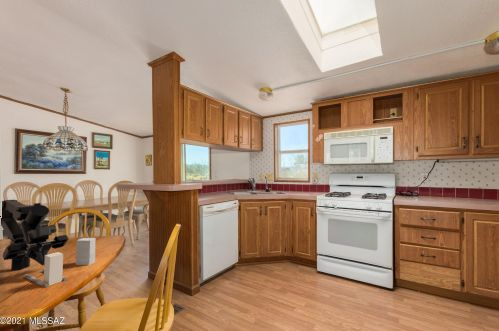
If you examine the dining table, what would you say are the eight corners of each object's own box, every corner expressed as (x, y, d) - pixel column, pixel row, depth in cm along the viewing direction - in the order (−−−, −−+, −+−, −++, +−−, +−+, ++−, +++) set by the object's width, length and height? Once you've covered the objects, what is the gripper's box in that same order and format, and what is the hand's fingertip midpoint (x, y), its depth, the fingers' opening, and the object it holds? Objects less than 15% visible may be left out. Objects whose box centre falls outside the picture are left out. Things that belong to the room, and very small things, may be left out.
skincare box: (95, 264, 106) (96, 237, 107) (89, 268, 102) (90, 240, 103) (81, 264, 106) (82, 237, 107) (75, 268, 102) (76, 240, 102)
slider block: (43, 283, 85) (44, 255, 85) (56, 278, 89) (57, 252, 89) (48, 285, 83) (50, 257, 84) (62, 281, 87) (63, 253, 87)
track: (23, 280, 89) (23, 274, 89) (45, 274, 96) (46, 268, 96) (44, 291, 81) (44, 285, 82) (67, 283, 88) (67, 277, 88)
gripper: (7, 223, 84) (18, 260, 79) (67, 215, 101) (80, 245, 95) (-2, 241, 88) (8, 278, 82) (57, 231, 104) (69, 261, 99)
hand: (44, 264), depth 89 cm, fingers closed
